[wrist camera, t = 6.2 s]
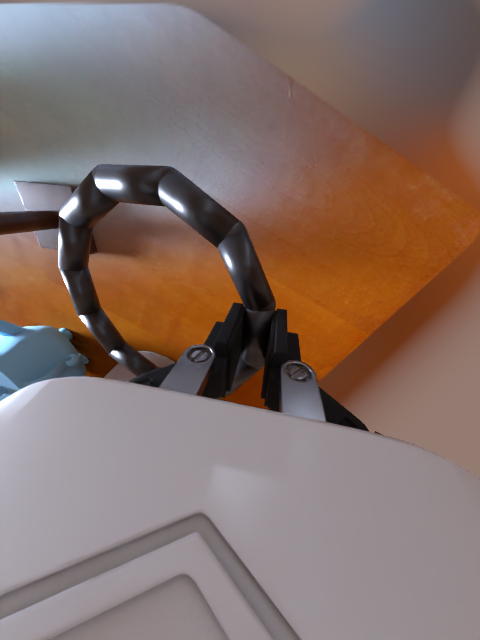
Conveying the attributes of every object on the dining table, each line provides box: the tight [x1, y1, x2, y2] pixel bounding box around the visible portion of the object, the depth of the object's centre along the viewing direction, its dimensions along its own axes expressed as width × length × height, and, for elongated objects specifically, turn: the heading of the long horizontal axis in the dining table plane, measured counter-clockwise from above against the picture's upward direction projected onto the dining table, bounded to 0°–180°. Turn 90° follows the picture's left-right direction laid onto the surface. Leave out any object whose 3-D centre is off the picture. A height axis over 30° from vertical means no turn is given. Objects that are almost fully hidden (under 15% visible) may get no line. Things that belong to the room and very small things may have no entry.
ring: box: [58, 164, 276, 396], centre depth 13 cm, size 15×15×2 cm
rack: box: [0, 181, 97, 254], centre depth 26 cm, size 9×9×12 cm
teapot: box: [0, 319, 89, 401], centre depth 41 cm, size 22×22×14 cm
